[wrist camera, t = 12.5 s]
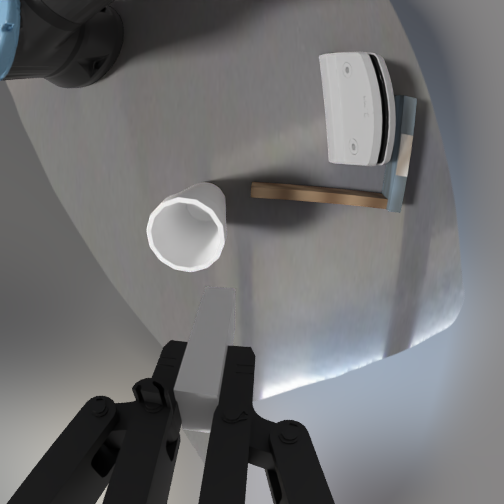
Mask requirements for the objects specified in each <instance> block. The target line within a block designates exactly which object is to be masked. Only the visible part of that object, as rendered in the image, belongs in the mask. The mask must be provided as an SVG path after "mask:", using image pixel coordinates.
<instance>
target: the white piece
mask: <svg viewBox="0 0 504 504" xmlns="http://www.w3.org/2000/svg"><path fill="white" fill-rule="evenodd" d="M319 60H320V68H321V76H322V85H323V94H324V104H325V115H326V127H327V140H328V155H329V162H332V163H336V164H348V165H363V166H375V165H383V164H386V163H388V162H389V161H390V159H391V155H392V150H393V145H394V138H395V126H396V116H395V101H394V94H393V88H392V83H391V79H390V75H389V72H388V69H387V66H386V64H385V61H384V59H383V57H382V56H380V55H378V54H375V53H366V52H336V53H329V54H323V55H320V56H319Z"/></svg>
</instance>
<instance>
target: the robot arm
mask: <svg viewBox="0 0 504 504" xmlns="http://www.w3.org/2000/svg"><path fill="white" fill-rule="evenodd" d="M112 1H114V0H0V81H1V80H12V79H25V78H45V79H46V80H48V81H50V82H51V83H53V84H55V85H57V86H59V87H63V88H81V87H85V86H88V85H90V84H92V83H94V82H95V81H97V80H98V79H100V78H101V77H102V76H103V75H104V74H105V73H106V72H107V71H108V70H109V69H110V68H111V66H112V65H113V63H114V62H115V60H116V58H117V56H118V54H119V52H120V49H121V46H122V42H123V24H122V21H121V18H120V16H119V15H118V13H117V12H116V11H115V10H114V9H113V8H111V7H109V6H107V5H108V4H110V3H111V2H112ZM235 301H236V288H224V287H211V286H206V287H205V290H204V293H203V296H202V299H201V302H200V305H199V309H198V312H197V315H196V318H195V321H194V324H193V327H192V331H191V334H190V337H189V340H188V342H182V341H174V340H170V341H169V342H168V343H167V344H166V345H165V346H164V347H163V350H162V352H161V355H160V358H159V360H158V363H157V366H156V368H155V371H154V373H153V376H152V378H146V379H142V380H140V381H139V382H137V383H135V385H134V386H133V388H132V390H133V393H134V396H135V398H136V401H134V402H127V403H114V401H113V400H111V399H110V398H109V397H106V396H96V397H93V398H91V399H90V400H89V401H88V402H86V404H85V405H84V406H83V407H82V408H81V410H80V411H79V412H78V413H77V415H76V416H75V417H74V419H73V420H72V421H71V422H70V423H69V425H68V426H67V427H66V428H65V430H64V431H63V432H62V434H60V436H59V437H58V438H57V439H56V441H55V442H54V443H53V444H52V446H51V447H50V448H49V450H48V451H47V452H46V453H45V455H44V456H43V457H42V459H41V460H40V461H39V462H38V464H37V465H36V466H35V467H34V469H33V470H32V471H31V473H30V474H29V475H28V477H27V478H26V479H25V480H24V482H23V483H22V484H21V486H20V487H19V488H18V489H17V491H16V492H15V494H14V495H13V496H12V497H11V499H10V500H9V501H8V503H7V504H95V503H96V502H97V500H98V499H99V497H100V496H101V494H102V493H103V491H104V490H105V488H106V486H107V485H108V488H107V491H106V494H105V497H104V500H103V504H167V500H168V495H169V491H170V486H171V481H172V477H173V472H174V467H175V463H176V458H177V454H178V449H179V445H180V434H179V432H180V428H181V424H182V428H183V429H185V430H192V431H199V432H207V433H210V437H209V443H208V449H207V455H206V461H205V467H204V474H203V479H202V485H201V491H200V497H199V503H198V504H245V494H246V481H247V468H248V463H250V464H253V465H256V466H258V467H261V468H264V469H265V472H266V476H267V480H268V484H269V488H270V491H271V495H272V498H273V503H274V504H335V503H334V500H333V498H332V495H331V492H330V490H329V487H328V484H327V482H326V479H325V476H324V473H323V471H322V468H321V466H320V463H319V460H318V457H317V455H316V452H315V449H314V446H313V444H312V441H311V438H310V436H309V433H308V431H307V429H306V428H305V426H304V425H302V424H301V423H299V422H297V421H294V420H284V421H280V422H278V423H274V422H271V421H269V420H266V419H263V418H261V417H260V416H259V415H258V414H257V413H256V412H255V411H254V408H253V405H252V399H253V384H254V369H255V354H254V352H253V350H252V348H251V347H241V346H233V340H234V333H235ZM108 483H109V484H108Z"/></svg>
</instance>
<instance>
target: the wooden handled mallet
mask: <svg viewBox="0 0 504 504" xmlns="http://www.w3.org/2000/svg"><path fill="white" fill-rule="evenodd" d="M394 101H395V116H396V126H395V138H394V145H393V150H392V155H391V159H390V161H389V162H388V163H386V169H385V175H384V182H383V188H382V194H381V193H373V192H365V191H356V190H347V189H337V188H327V187H316V186H305V185H292V184H278V183H263V182H252V186H251V197H253V198H269V199H284V200H298V201H310V202H322V203H333V204H344V205H354V206H364V207H373V208H382V209H387V210H388V211H391V212H401V207H402V202H403V197H404V192H405V186H406V180H407V175H408V168H409V162H410V155H411V148H412V141H413V132H414V124H415V114H416V103H417V98H413V97H409V96H405V95H395V96H394Z"/></svg>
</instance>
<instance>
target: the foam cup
mask: <svg viewBox="0 0 504 504" xmlns="http://www.w3.org/2000/svg"><path fill="white" fill-rule="evenodd" d="M146 231H147V236H148V241H149V245H150V248H151V249H152V250H153V252H154V253H155V254H156V256H157V257H158V258H159V260H160V261H162V262H163V263H165V264H167V265H168V266H170V267H172V268H173V269H176V270H181V271H187V272H194V271H198V270H202V269H206V268H208V267H209V266H210V265H211V264H212V263H214V262H215V261H216V260H217V259H218V258H219V257H220V254H221V251H222V249H223V246H224V244H225V241H226V237H227V227H226V201H225V195H224V194H223V192H222V191H221V189H220V188H219V187H217V186H216V185H214V184H213V183H207V182H201V183H198V184H195V185H193V186H191V187H189V188H187V189H185V190H183V191H181V192H179V193H177V194H174V195H171V196H168V197H167V198H166V199H165V200H164V201H163V202H162V203H161V204H160V205H159V206H158V207H157V208H156V209H155V210H154V211H153V212H152V214H151V215H150V218H149V222H148V226H147V230H146Z"/></svg>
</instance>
